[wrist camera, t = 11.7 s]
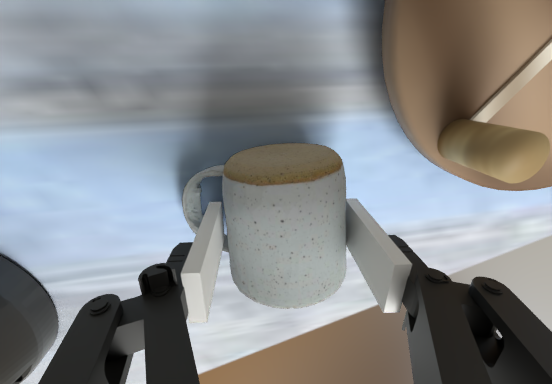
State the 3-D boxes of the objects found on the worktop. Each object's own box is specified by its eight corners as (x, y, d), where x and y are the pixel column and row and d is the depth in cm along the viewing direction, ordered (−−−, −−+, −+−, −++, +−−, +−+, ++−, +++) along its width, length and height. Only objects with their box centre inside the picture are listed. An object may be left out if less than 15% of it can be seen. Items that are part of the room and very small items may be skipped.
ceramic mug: (327, 132, 18) (374, 166, 11) (327, 231, 21) (364, 305, 14) (175, 148, 18) (123, 193, 11) (199, 246, 21) (172, 330, 14)
